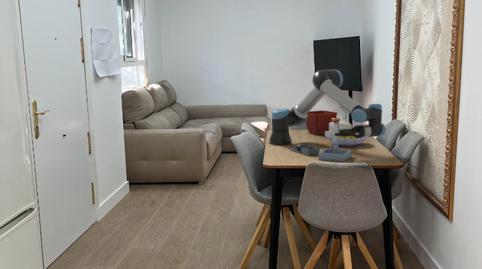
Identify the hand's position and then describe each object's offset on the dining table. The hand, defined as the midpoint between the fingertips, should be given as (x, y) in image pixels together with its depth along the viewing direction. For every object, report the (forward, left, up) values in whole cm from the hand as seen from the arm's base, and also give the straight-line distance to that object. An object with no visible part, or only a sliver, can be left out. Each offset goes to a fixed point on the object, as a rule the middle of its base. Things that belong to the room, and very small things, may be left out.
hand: (327, 134), depth 271 cm
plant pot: (-33, +90, -15) cm, 97 cm away
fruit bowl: (-3, +51, -15) cm, 53 cm away
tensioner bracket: (-18, +14, -14) cm, 27 cm away
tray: (+3, +4, -14) cm, 15 cm away
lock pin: (+3, +4, -10) cm, 12 cm away
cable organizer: (-13, +74, -15) cm, 77 cm away
